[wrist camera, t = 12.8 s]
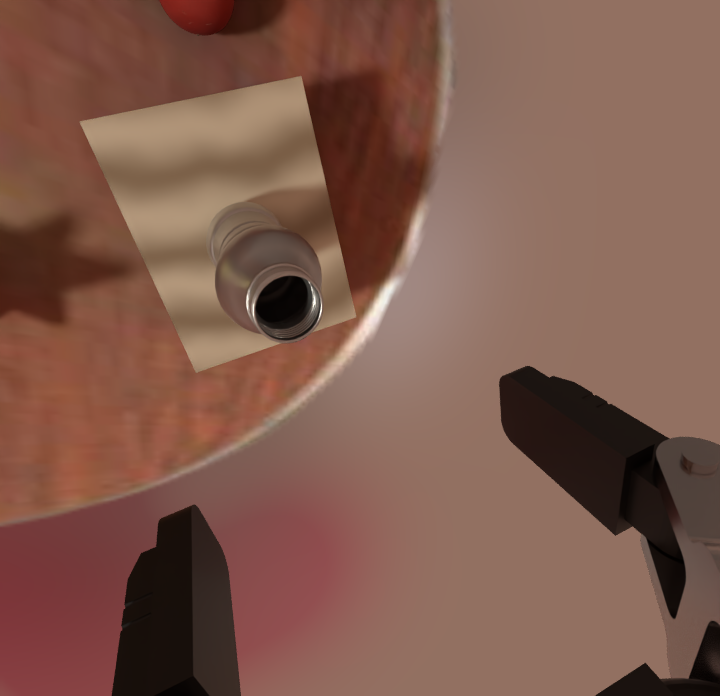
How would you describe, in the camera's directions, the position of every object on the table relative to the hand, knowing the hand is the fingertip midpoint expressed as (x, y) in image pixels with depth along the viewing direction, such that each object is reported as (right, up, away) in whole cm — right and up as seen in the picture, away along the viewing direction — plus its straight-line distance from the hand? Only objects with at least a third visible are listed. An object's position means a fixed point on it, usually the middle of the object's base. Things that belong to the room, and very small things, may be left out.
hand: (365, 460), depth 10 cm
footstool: (-13, +16, +34) cm, 40 cm away
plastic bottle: (-11, +13, +27) cm, 32 cm away
